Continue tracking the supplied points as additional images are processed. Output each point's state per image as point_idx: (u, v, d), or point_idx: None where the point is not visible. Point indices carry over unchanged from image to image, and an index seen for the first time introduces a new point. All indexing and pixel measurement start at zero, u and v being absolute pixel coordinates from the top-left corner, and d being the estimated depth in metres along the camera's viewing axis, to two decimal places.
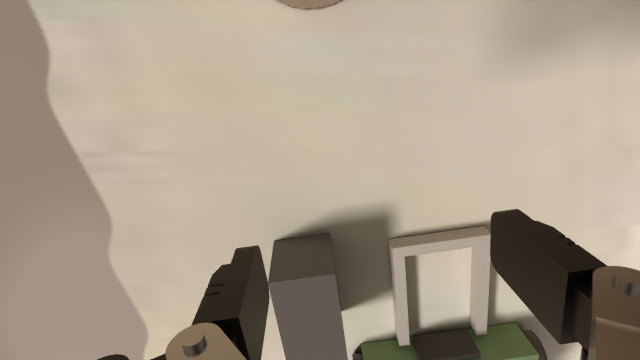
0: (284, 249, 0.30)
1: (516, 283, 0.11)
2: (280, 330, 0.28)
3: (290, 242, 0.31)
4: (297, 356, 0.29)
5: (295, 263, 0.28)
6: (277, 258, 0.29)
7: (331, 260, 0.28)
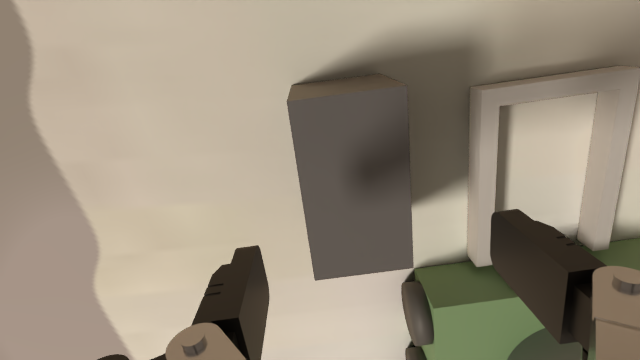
0: (309, 86, 0.19)
1: (516, 283, 0.11)
2: (304, 202, 0.16)
3: (317, 82, 0.20)
4: (330, 253, 0.17)
5: (332, 88, 0.17)
6: (299, 90, 0.18)
7: (394, 81, 0.16)
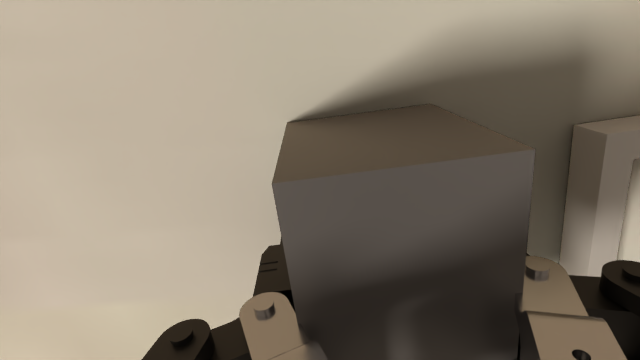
0: (317, 129, 0.11)
1: None
2: None
3: (330, 121, 0.12)
4: None
5: (362, 143, 0.09)
6: (300, 141, 0.10)
7: (484, 130, 0.08)
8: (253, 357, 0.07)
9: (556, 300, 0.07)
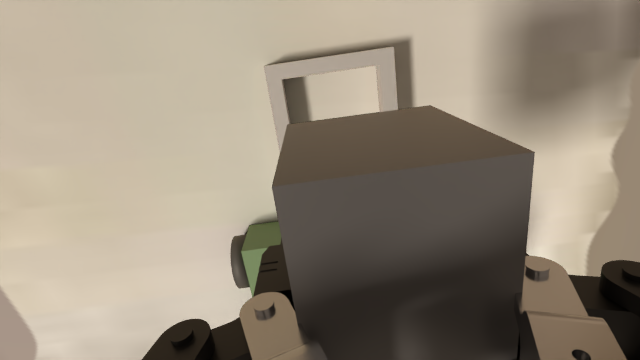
0: (317, 131, 0.11)
1: None
2: None
3: (330, 122, 0.12)
4: None
5: (362, 145, 0.09)
6: (299, 143, 0.10)
7: (484, 133, 0.08)
8: (253, 356, 0.07)
9: (556, 300, 0.07)
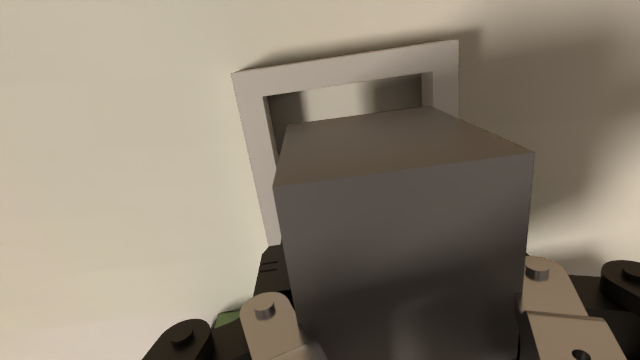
0: (317, 131, 0.11)
1: None
2: None
3: (330, 123, 0.12)
4: None
5: (362, 145, 0.09)
6: (300, 144, 0.10)
7: (484, 133, 0.08)
8: (253, 357, 0.07)
9: (556, 300, 0.07)
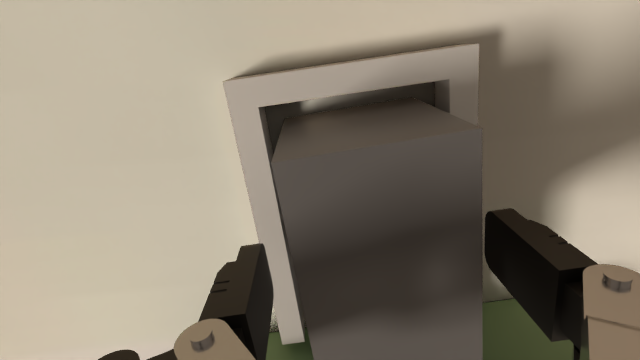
0: (311, 121, 0.12)
1: (510, 282, 0.11)
2: (308, 317, 0.10)
3: (322, 114, 0.13)
4: None
5: (347, 130, 0.10)
6: (295, 131, 0.11)
7: (448, 116, 0.10)
8: None
9: (631, 313, 0.07)
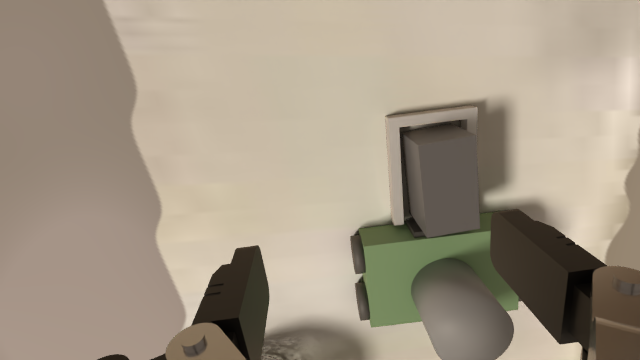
0: (415, 133, 0.35)
1: (516, 283, 0.11)
2: (424, 194, 0.32)
3: (417, 130, 0.36)
4: (436, 222, 0.33)
5: (433, 136, 0.32)
6: (413, 137, 0.33)
7: (466, 131, 0.32)
8: None
9: None
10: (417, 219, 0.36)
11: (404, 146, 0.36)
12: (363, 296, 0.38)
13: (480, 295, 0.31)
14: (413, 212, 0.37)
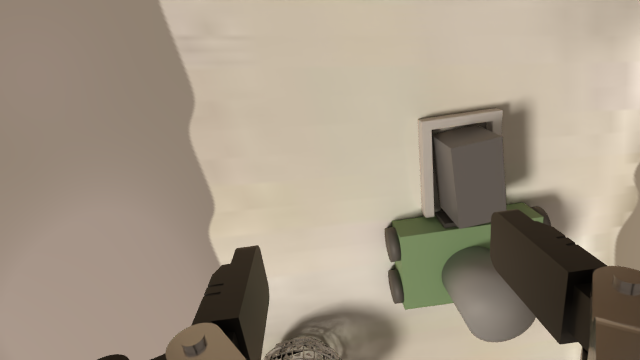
0: (445, 135, 0.38)
1: (516, 283, 0.11)
2: (456, 191, 0.36)
3: (445, 132, 0.39)
4: (467, 214, 0.37)
5: (462, 138, 0.36)
6: (444, 139, 0.37)
7: (492, 132, 0.36)
8: None
9: None
10: (448, 212, 0.40)
11: (434, 147, 0.40)
12: (398, 281, 0.43)
13: None
14: (444, 206, 0.41)
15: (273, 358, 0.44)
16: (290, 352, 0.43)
